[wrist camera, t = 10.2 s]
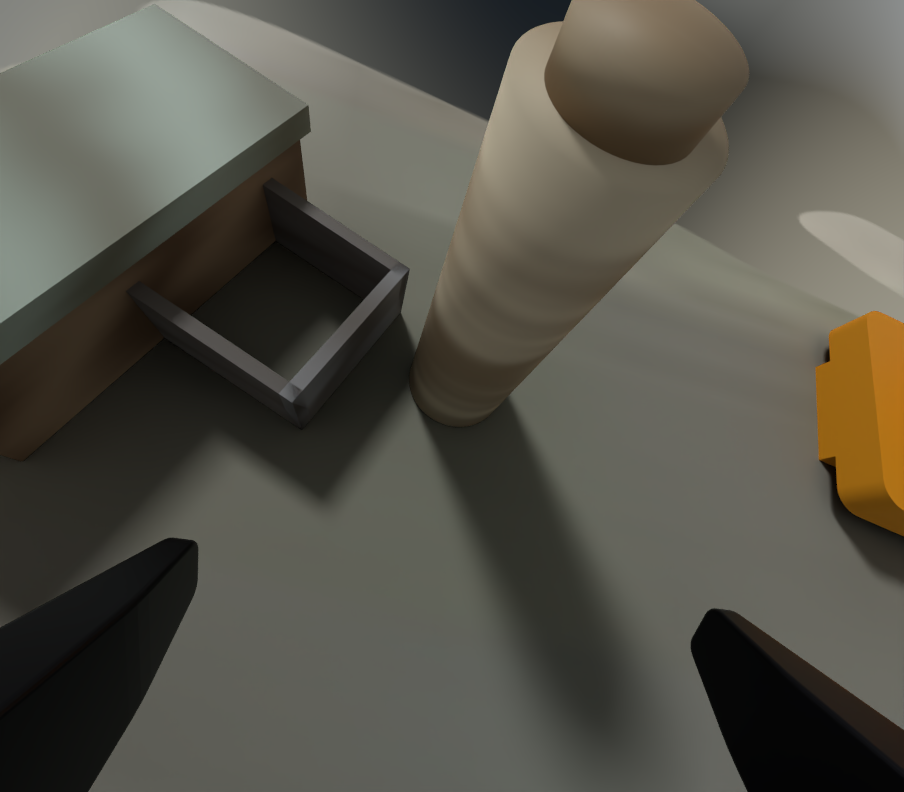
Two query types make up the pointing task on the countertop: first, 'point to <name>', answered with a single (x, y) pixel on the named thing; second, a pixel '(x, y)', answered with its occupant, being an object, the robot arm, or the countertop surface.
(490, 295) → the wooden pepper mill
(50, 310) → the green slab with socket
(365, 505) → the countertop surface
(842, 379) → the bracket
